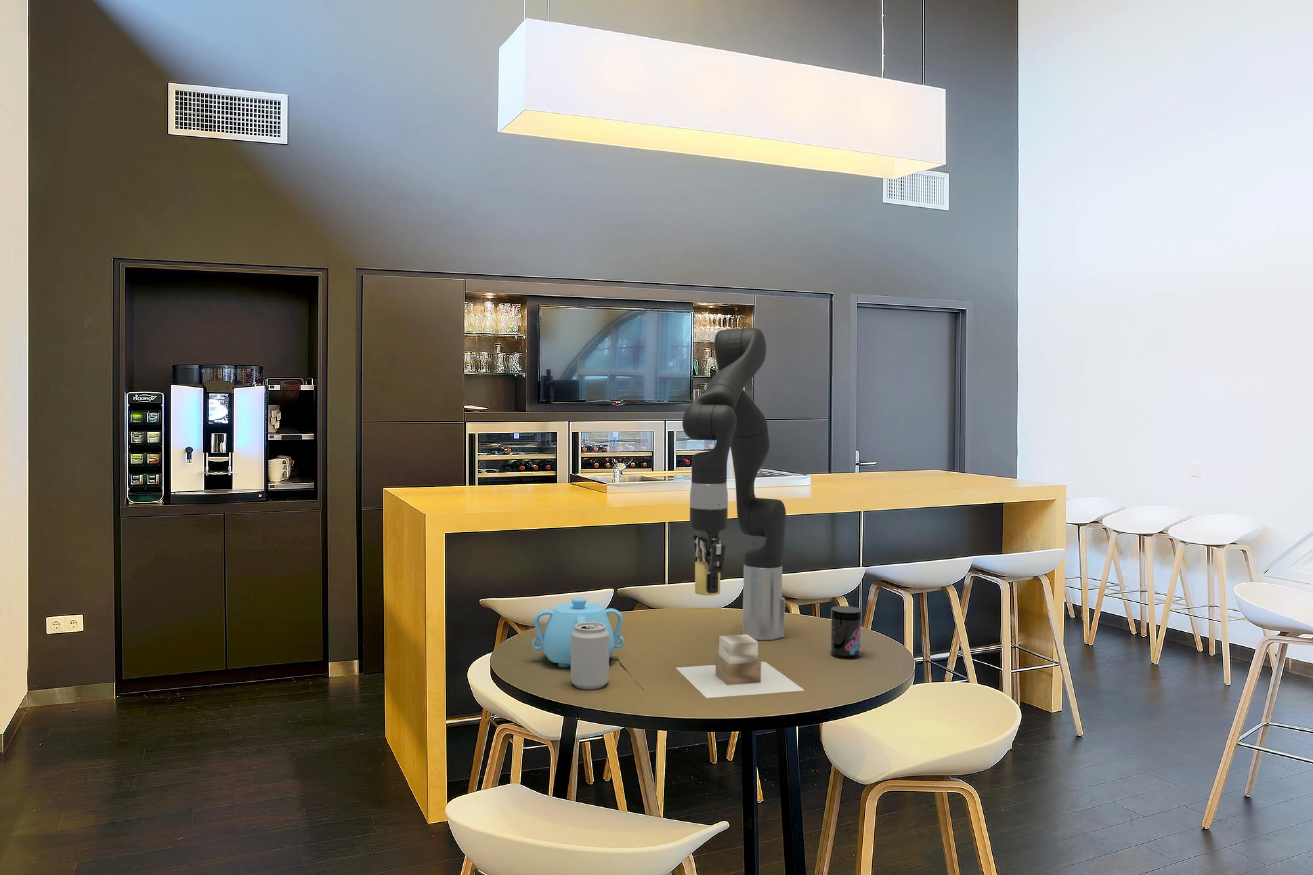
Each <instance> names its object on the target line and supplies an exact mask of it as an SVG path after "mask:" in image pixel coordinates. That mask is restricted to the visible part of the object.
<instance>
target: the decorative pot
mask: <svg viewBox="0 0 1313 875" xmlns="http://www.w3.org/2000/svg"><path fill="white" fill-rule="evenodd" d="M608 614H613V615H616V617H617V624H616V628H615V631H613V626H612V625H611V621H610V619H609V617H608ZM546 615H548V616H549V618H548V620H547V622H546V625H545V628H544V631H543V632H542V629H541V626H540V618H541V617H543V616H546ZM623 618H624V617H623V615H622V613H621V612H620V611H619V610H617V609H616V608H611V607H610V608H605V609H604V607H603V606H602V605H601V604H599V603H598V604H597V603H590V602H587V598H585V597H574V598H572V599H571V602H570V603H560V604H557V605H555V606H554V608H553V609H552V610H550V609H544V610H541V611H539V612H538V613H537V614H536V615H535V616H534V619H533V621H534V622H533V624H534V628H535V631H536V634H537V636H536V637H534V638H533V639H532V641H531V647H532V648H533V649H534V650H537V651H542V650H543V652H544V655H545V656H546V657H547V658H548V660H549V661H550V662H551V663H555V664H556V663H557V664H558V667H560V668H569V667H571V633H572V632H573V631H574V629H575V627H574V626H575V625H576V624H578V623H583V622H598V623H603V624H605V625H606V628H605V629H606V630H607V631H608V632H609V659H610V657H611V656H612V655H613V653H614V650H615V649H621V648H623V647H624V645H625V643H626V642H625V638H624V637H623V636H622V635H619V634H620V632H621V629H622V627H623V623H624V619H623ZM618 640H620V642H619V643H618V642H617V641H618ZM538 641H539V644H537V642H538Z"/></svg>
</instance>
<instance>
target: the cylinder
mask: <svg viewBox="0 0 1313 875" xmlns="http://www.w3.org/2000/svg"><path fill="white" fill-rule="evenodd" d="M694 564H695V565H694V568H695V569H694V581H695V582H694V587H695V588H694V593H695V594H696V595H700V596H716V595H720V594H721V572H720V573H719V574H718V592H717V593H708V592H707V591H706V574H707V573H706V564H705V563H704V562H703V561H697V562H694ZM714 566H715V563H714Z"/></svg>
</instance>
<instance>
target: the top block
mask: <svg viewBox="0 0 1313 875" xmlns="http://www.w3.org/2000/svg"><path fill="white" fill-rule="evenodd" d="M718 638H719V639H718V641H719V643H718V644H719V645H718V655H719V656H720V657H721V658H722V659H724V660H725V661H726V662H727V663H729V664H737V663H752V662H758V661H759V642H758V640H756V639H753V638H751V637H750V636H748V635H743V634H737V635H736V634H733V635H719V637H718Z"/></svg>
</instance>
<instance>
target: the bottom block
mask: <svg viewBox="0 0 1313 875" xmlns="http://www.w3.org/2000/svg"><path fill="white" fill-rule="evenodd" d="M761 662H762V661H760V660H758V662H752V663H737V664H729V663H727V662H726V661H725V660H724V659H722V658H721V657H720V656H719V654H715V665H716V674H715V675H716V676H718V677H719V678H720V679H721V680H722V681H723V682H724V683H726V684H727V685H735V684H749V683H761Z"/></svg>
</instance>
